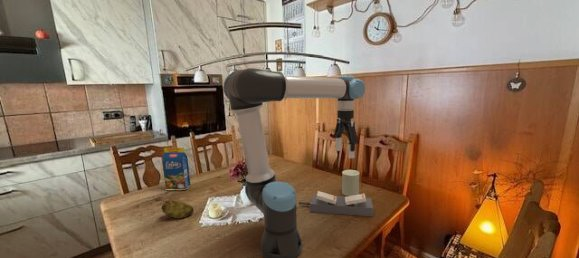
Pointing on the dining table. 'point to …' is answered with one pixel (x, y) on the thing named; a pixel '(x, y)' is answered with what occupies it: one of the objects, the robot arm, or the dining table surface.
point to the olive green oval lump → (177, 209)
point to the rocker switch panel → (340, 207)
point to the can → (350, 182)
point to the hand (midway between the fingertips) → (344, 154)
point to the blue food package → (175, 168)
